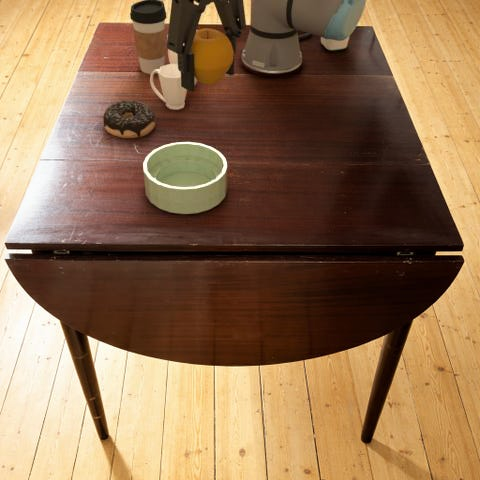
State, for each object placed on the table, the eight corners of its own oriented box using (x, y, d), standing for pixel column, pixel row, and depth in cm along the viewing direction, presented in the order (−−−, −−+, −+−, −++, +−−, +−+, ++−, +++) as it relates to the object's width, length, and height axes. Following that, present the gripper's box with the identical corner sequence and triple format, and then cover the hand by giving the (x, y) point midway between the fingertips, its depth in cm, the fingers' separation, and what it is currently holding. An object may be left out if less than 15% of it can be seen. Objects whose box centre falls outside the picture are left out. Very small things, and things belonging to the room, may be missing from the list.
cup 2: (351, 51, 161) (361, -10, 150) (326, 54, 160) (334, -7, 149) (340, 39, 166) (348, -20, 155) (315, 42, 164) (322, -17, 153)
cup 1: (179, 115, 136) (177, 80, 130) (143, 103, 139) (140, 68, 133) (196, 102, 140) (196, 68, 134) (161, 91, 143) (158, 57, 138)
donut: (101, 140, 128) (99, 123, 125) (107, 112, 136) (105, 95, 133) (154, 141, 129) (153, 123, 126) (157, 112, 137) (156, 95, 134)
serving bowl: (189, 159, 124) (188, 133, 120) (243, 192, 117) (244, 165, 113) (129, 190, 117) (125, 163, 112) (182, 227, 109) (181, 200, 105)
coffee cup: (175, 71, 151) (172, 7, 140) (145, 79, 147) (139, 14, 136) (159, 58, 155) (154, -5, 144) (129, 65, 152) (122, 2, 141)
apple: (180, 71, 112) (178, 20, 106) (228, 68, 113) (229, 18, 107) (186, 94, 106) (185, 42, 99) (237, 91, 107) (238, 39, 101)
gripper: (169, -43, 86) (175, 107, 102) (273, -70, 97) (264, 69, 113) (136, -56, 89) (147, 91, 106) (240, -81, 100) (235, 56, 117)
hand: (207, 80), depth 109 cm, fingers closed on apple, 9 cm apart
